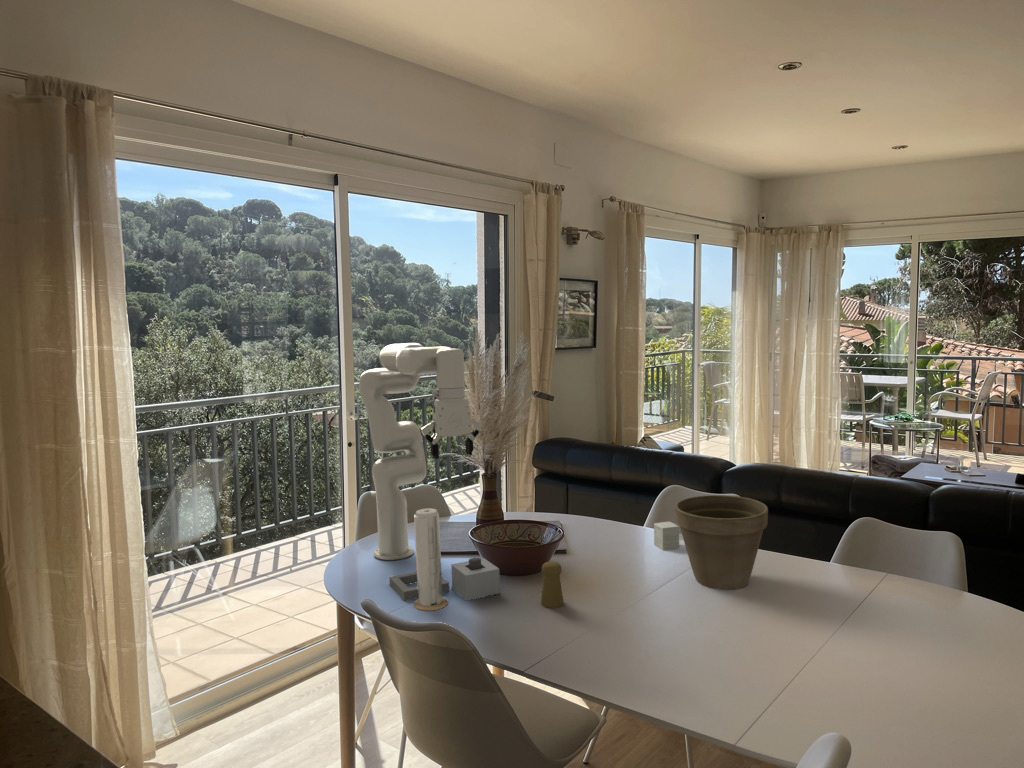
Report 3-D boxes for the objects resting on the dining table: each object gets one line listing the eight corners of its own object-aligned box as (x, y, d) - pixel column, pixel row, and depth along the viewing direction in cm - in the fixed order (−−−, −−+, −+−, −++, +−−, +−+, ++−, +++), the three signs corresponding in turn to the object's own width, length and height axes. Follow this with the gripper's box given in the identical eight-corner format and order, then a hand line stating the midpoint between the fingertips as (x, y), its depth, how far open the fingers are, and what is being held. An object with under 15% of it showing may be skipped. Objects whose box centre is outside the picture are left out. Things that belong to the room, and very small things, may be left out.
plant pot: (667, 590, 199) (667, 513, 197) (682, 561, 222) (682, 491, 219) (764, 602, 190) (765, 521, 187) (769, 570, 212) (770, 497, 210)
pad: (409, 601, 196) (409, 600, 196) (440, 594, 200) (440, 593, 200) (420, 613, 188) (420, 612, 188) (453, 606, 192) (453, 605, 192)
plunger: (467, 573, 202) (466, 559, 202) (478, 570, 204) (477, 557, 203) (472, 577, 199) (471, 562, 199) (483, 574, 201) (483, 560, 200)
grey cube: (653, 544, 238) (653, 523, 237) (670, 542, 240) (670, 521, 239) (662, 550, 232) (662, 528, 231) (679, 548, 234) (679, 526, 233)
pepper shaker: (566, 600, 194) (565, 560, 193) (560, 609, 189) (559, 567, 187) (544, 597, 196) (543, 558, 195) (537, 606, 190) (537, 565, 189)
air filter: (444, 597, 197) (440, 507, 195) (440, 607, 191) (435, 513, 188) (421, 597, 198) (416, 507, 195) (415, 607, 191) (411, 514, 189)
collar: (389, 585, 208) (389, 576, 208) (432, 576, 214) (432, 568, 213) (404, 600, 196) (404, 591, 196) (449, 591, 202) (448, 582, 202)
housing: (452, 588, 204) (451, 564, 203) (484, 581, 209) (483, 558, 208) (466, 600, 195) (465, 575, 195) (499, 593, 200) (499, 568, 199)
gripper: (424, 397, 190) (426, 462, 192) (485, 393, 198) (486, 455, 199) (415, 394, 197) (417, 456, 199) (475, 390, 204) (476, 450, 206)
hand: (452, 456), depth 199 cm, fingers open, 9 cm apart
